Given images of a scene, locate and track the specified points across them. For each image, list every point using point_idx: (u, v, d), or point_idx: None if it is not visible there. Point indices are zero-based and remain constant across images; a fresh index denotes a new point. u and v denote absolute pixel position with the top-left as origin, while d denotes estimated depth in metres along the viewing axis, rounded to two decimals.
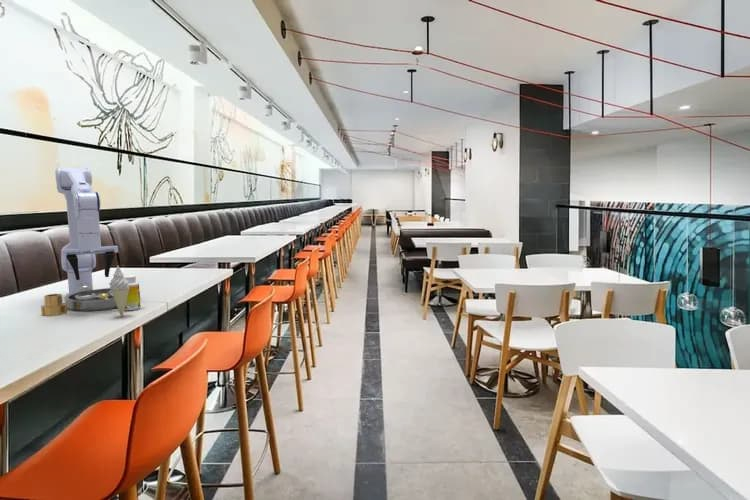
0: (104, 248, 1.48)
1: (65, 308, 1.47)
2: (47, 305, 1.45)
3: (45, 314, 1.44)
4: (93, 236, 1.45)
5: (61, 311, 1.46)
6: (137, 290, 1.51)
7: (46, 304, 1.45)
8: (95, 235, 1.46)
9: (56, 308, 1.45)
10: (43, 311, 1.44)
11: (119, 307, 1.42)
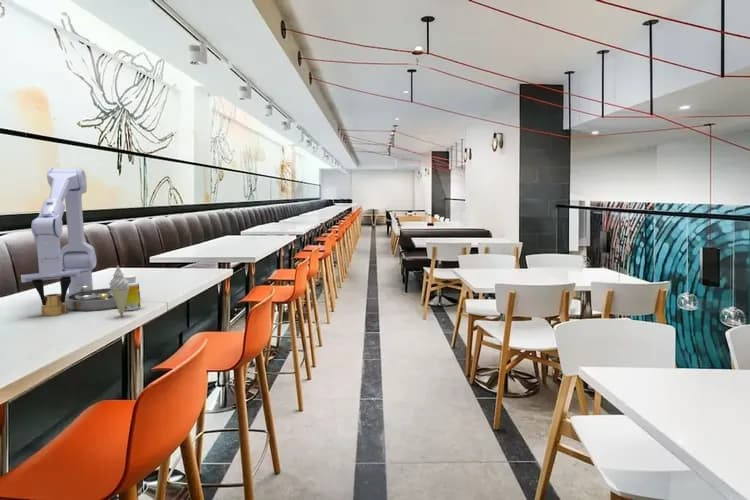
0: (65, 273, 1.46)
1: (65, 308, 1.47)
2: (47, 305, 1.45)
3: (45, 314, 1.44)
4: (53, 261, 1.43)
5: (61, 311, 1.46)
6: (137, 290, 1.51)
7: (46, 304, 1.45)
8: (55, 260, 1.44)
9: (56, 308, 1.45)
10: (43, 311, 1.44)
11: (119, 307, 1.42)
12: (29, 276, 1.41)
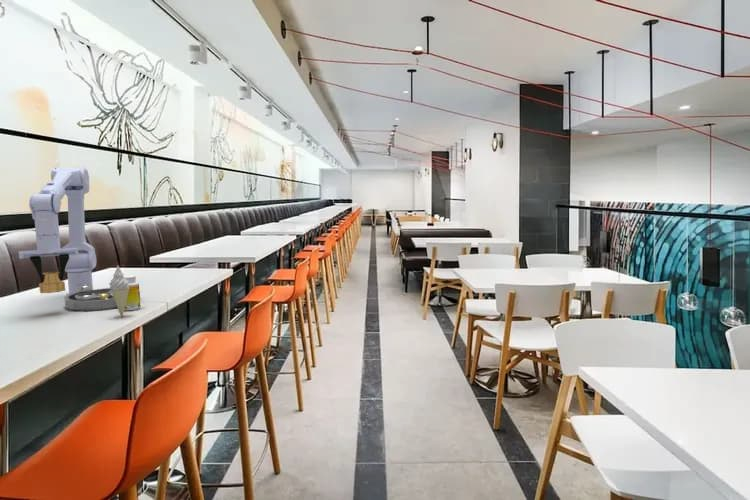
0: (63, 250, 1.45)
1: (63, 286, 1.47)
2: (45, 282, 1.44)
3: (43, 291, 1.43)
4: (51, 238, 1.43)
5: (59, 289, 1.45)
6: (137, 290, 1.51)
7: (44, 282, 1.44)
8: (53, 237, 1.43)
9: (54, 285, 1.44)
10: (41, 288, 1.43)
11: (119, 307, 1.42)
12: (27, 252, 1.41)
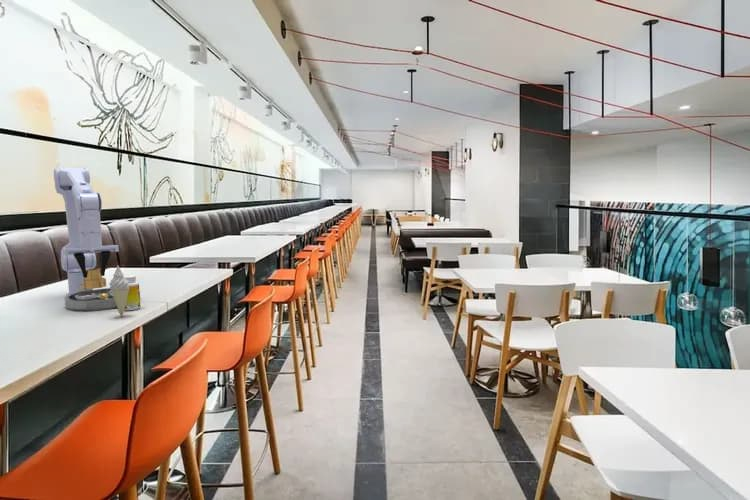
0: (105, 247, 1.52)
1: (105, 282, 1.53)
2: (88, 278, 1.50)
3: (86, 287, 1.50)
4: (94, 236, 1.49)
5: (101, 284, 1.52)
6: (137, 290, 1.51)
7: (87, 278, 1.50)
8: (96, 235, 1.50)
9: (97, 281, 1.51)
10: (84, 284, 1.50)
11: (119, 307, 1.42)
12: (72, 249, 1.47)
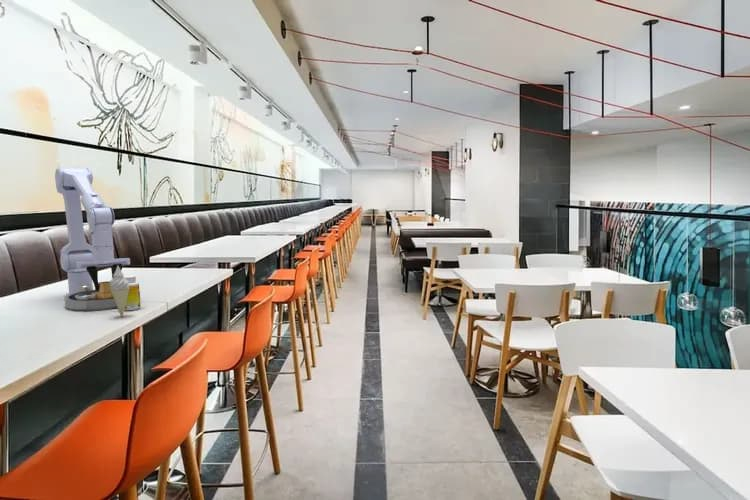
0: (117, 260, 1.54)
1: None
2: (100, 291, 1.53)
3: None
4: (107, 249, 1.52)
5: (113, 297, 1.54)
6: (137, 290, 1.51)
7: (99, 291, 1.53)
8: (108, 248, 1.52)
9: (109, 294, 1.53)
10: (97, 297, 1.52)
11: (119, 307, 1.42)
12: (84, 263, 1.50)
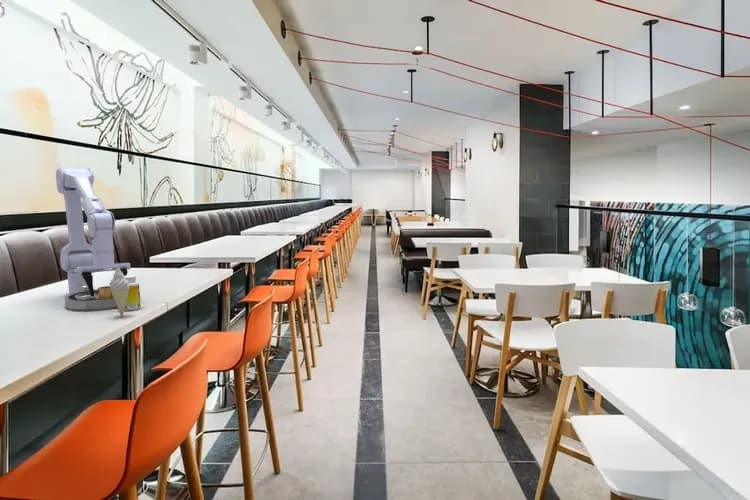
0: None
1: None
2: (101, 297, 1.53)
3: None
4: (107, 254, 1.52)
5: None
6: (137, 290, 1.51)
7: (100, 296, 1.53)
8: (109, 253, 1.52)
9: None
10: None
11: (119, 307, 1.42)
12: (85, 268, 1.50)
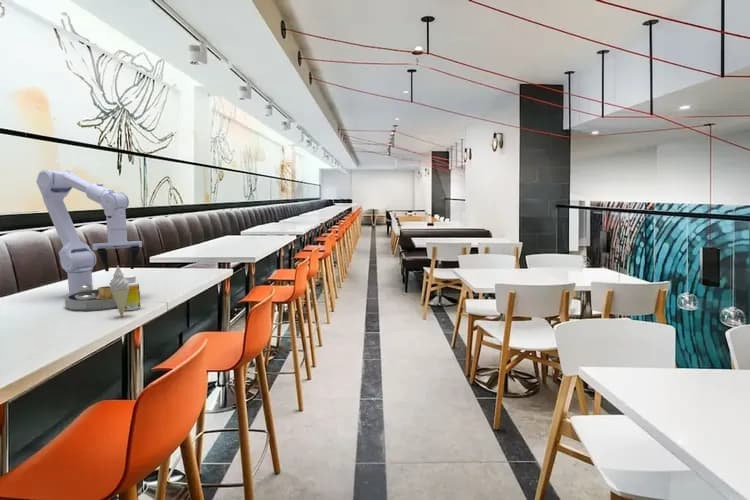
0: (130, 243, 1.65)
1: None
2: (101, 297, 1.53)
3: None
4: (121, 232, 1.62)
5: None
6: (137, 290, 1.51)
7: (100, 296, 1.53)
8: (122, 231, 1.63)
9: None
10: None
11: (119, 307, 1.42)
12: (100, 244, 1.60)
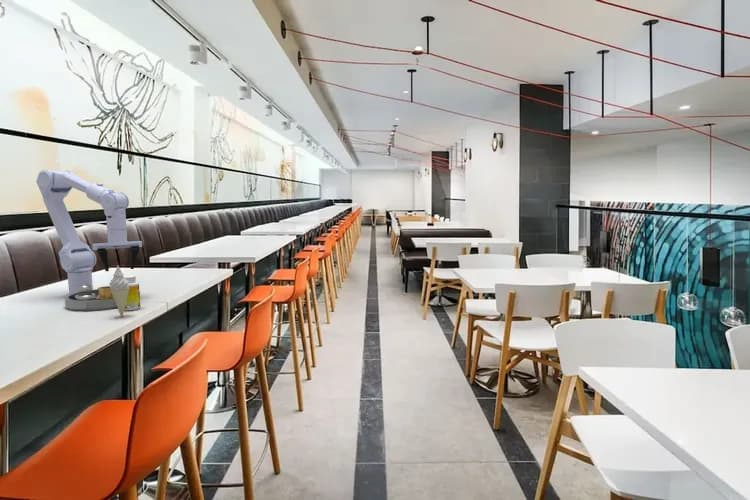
0: (130, 243, 1.65)
1: None
2: (101, 297, 1.53)
3: None
4: (121, 232, 1.62)
5: None
6: (137, 290, 1.51)
7: (100, 296, 1.53)
8: (122, 231, 1.63)
9: None
10: None
11: (119, 307, 1.42)
12: (100, 244, 1.60)
